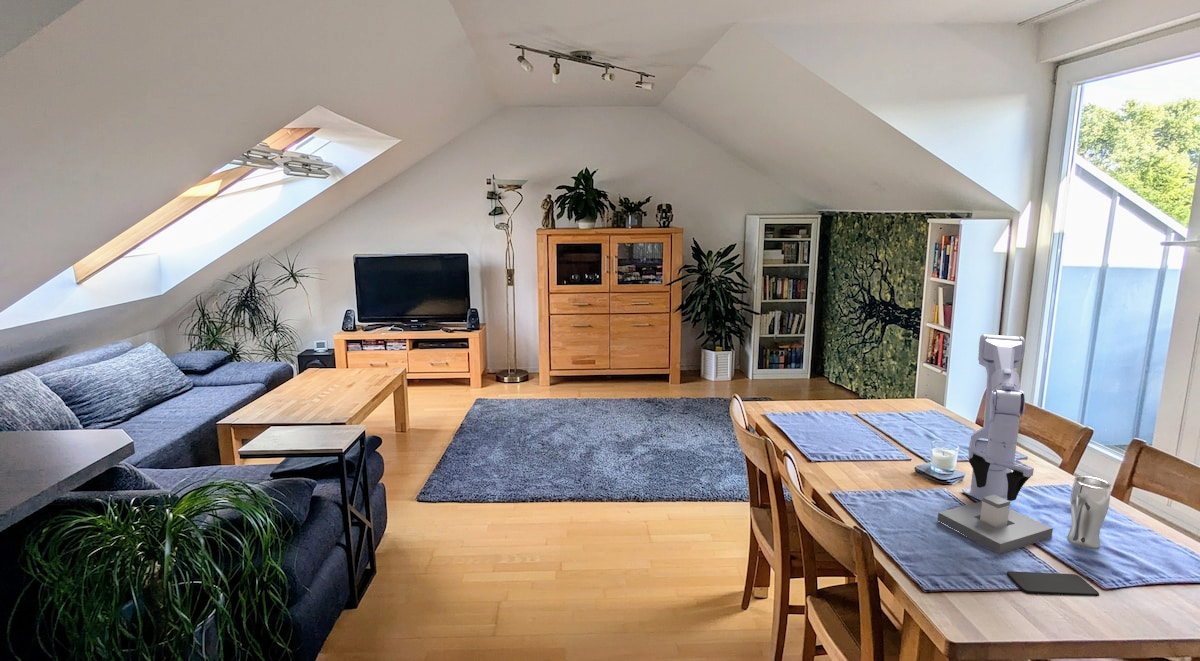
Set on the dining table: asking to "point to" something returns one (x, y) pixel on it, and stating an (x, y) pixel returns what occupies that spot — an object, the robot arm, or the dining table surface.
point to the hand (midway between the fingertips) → (995, 493)
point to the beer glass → (1088, 510)
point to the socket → (998, 540)
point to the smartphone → (1051, 584)
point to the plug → (995, 511)
